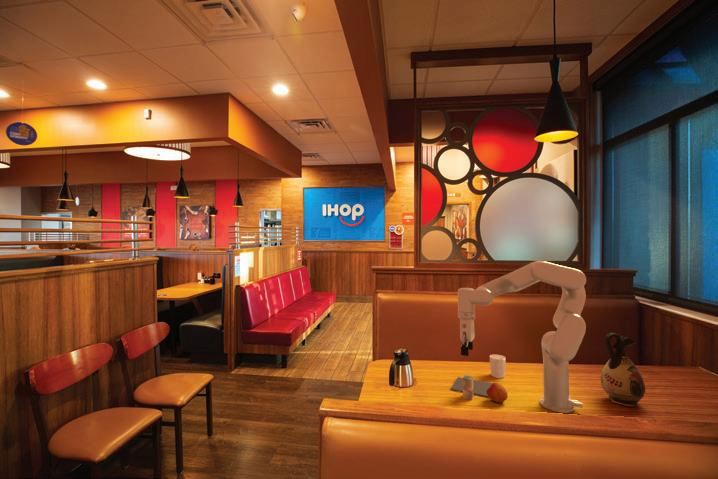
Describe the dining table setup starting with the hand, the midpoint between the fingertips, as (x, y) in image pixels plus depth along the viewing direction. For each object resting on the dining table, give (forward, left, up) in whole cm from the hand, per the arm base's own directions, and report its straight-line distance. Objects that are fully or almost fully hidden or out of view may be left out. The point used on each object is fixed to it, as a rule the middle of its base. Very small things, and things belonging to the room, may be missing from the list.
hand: (467, 352), depth 152 cm
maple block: (0, 0, -20) cm, 20 cm away
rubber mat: (0, -12, -20) cm, 23 cm away
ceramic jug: (-60, -27, -21) cm, 69 cm away
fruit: (-12, -2, -21) cm, 24 cm away
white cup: (-9, -33, -21) cm, 40 cm away
